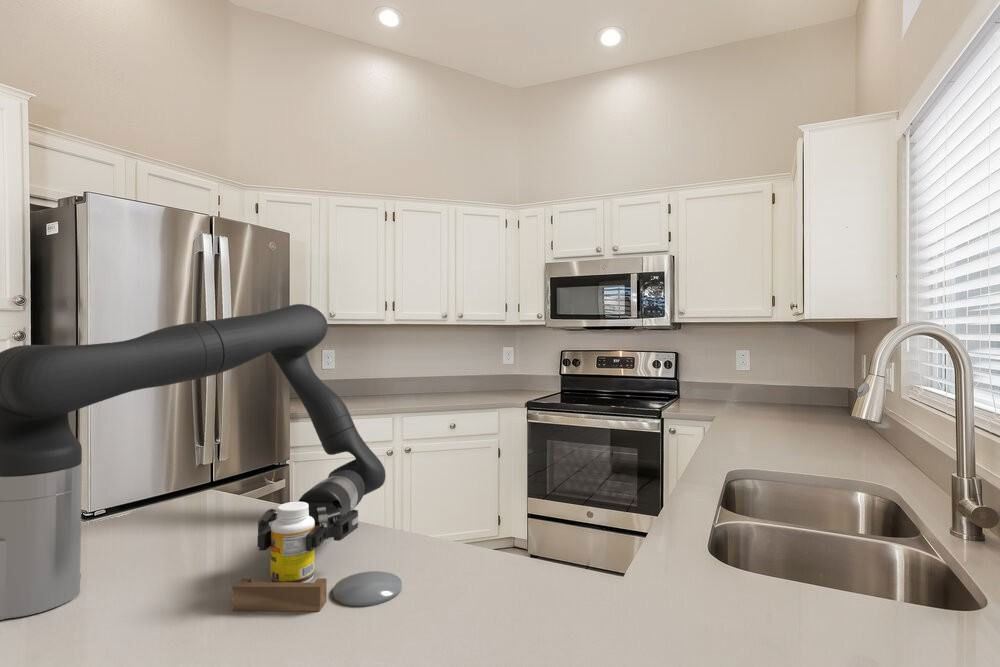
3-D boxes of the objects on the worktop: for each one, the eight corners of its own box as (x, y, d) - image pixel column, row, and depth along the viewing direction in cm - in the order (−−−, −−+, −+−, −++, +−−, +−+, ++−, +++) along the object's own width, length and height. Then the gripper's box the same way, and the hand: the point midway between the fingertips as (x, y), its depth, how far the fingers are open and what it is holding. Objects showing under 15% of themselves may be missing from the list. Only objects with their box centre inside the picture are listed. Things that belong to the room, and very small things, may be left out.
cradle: (242, 601, 69) (242, 578, 69) (326, 601, 69) (326, 578, 69) (232, 610, 66) (232, 586, 67) (319, 611, 66) (320, 586, 66)
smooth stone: (362, 613, 66) (362, 608, 66) (319, 593, 71) (319, 588, 71) (415, 586, 73) (415, 582, 73) (372, 570, 78) (372, 566, 78)
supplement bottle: (272, 575, 74) (273, 501, 74) (315, 570, 75) (315, 497, 76) (267, 593, 68) (268, 513, 69) (313, 587, 70) (314, 509, 70)
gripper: (285, 480, 86) (231, 514, 70) (372, 481, 86) (340, 515, 69) (284, 527, 86) (230, 571, 69) (372, 527, 86) (339, 573, 69)
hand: (285, 543), depth 70 cm, fingers closed on supplement bottle, 5 cm apart
